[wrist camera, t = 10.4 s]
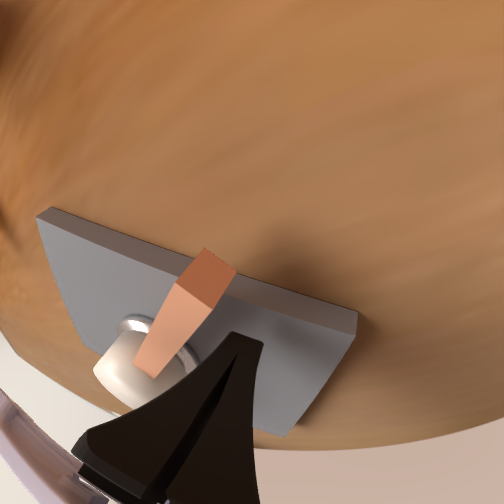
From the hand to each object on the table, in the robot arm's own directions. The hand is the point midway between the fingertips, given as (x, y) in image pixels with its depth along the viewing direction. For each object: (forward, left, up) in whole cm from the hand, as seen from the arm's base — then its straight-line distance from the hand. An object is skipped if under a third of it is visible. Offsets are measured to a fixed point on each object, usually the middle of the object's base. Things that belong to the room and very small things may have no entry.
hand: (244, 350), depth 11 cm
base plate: (-6, +6, -3) cm, 9 cm away
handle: (-2, +4, -1) cm, 5 cm away
